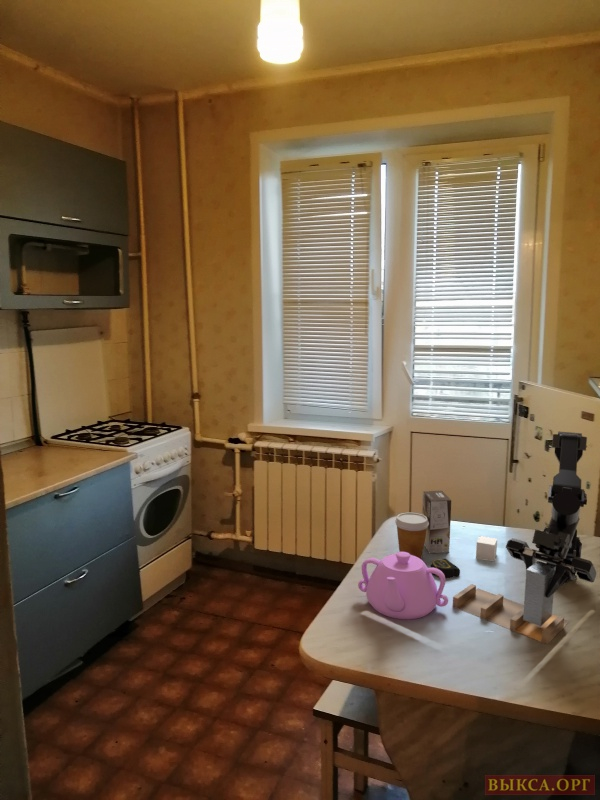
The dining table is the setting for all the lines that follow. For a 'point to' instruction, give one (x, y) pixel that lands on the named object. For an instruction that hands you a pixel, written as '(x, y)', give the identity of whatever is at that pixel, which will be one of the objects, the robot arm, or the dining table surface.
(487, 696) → the dining table surface
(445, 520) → the coffee box
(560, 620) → the rail rack
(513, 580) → the dining table surface
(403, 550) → the disposable coffee cup
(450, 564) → the tape measure
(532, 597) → the tall grey box
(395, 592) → the teapot
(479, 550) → the cream white cube
